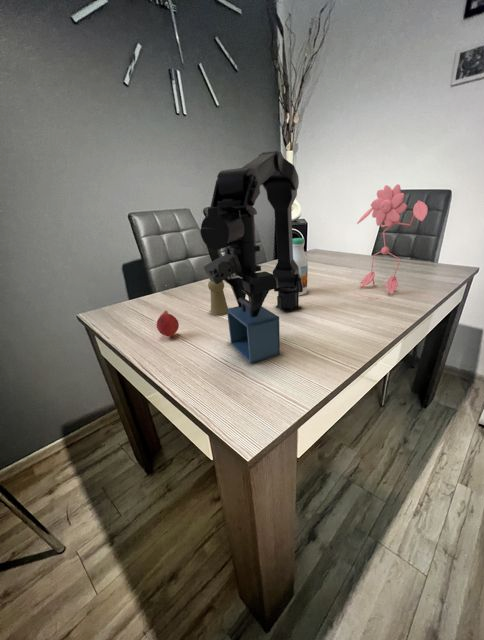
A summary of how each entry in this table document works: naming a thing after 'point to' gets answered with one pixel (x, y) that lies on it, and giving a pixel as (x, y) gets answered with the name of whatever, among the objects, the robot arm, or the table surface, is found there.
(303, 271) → the milk bottle
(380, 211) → the figurine
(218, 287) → the tan chess pawn
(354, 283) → the table surface
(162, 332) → the onion
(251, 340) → the blue drawer
